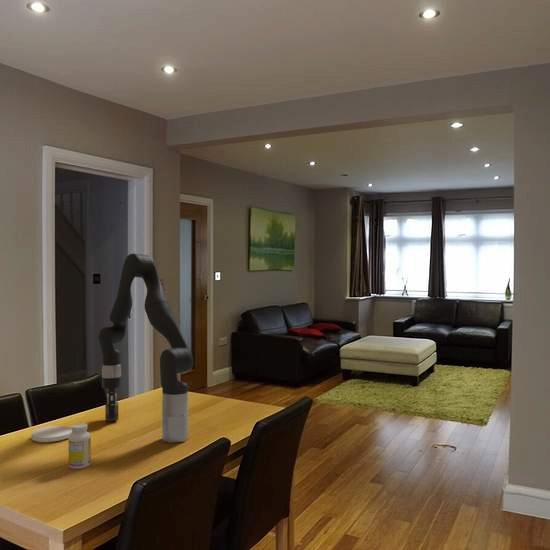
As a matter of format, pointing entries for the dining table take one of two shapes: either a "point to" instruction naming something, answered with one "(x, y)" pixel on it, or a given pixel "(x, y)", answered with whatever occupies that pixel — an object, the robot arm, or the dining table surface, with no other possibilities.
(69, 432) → the plastic lid
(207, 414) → the dining table surface
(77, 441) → the supplement bottle
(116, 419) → the walnut block
